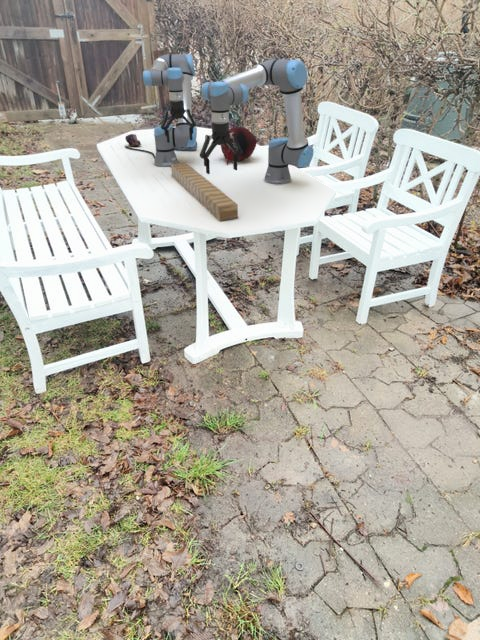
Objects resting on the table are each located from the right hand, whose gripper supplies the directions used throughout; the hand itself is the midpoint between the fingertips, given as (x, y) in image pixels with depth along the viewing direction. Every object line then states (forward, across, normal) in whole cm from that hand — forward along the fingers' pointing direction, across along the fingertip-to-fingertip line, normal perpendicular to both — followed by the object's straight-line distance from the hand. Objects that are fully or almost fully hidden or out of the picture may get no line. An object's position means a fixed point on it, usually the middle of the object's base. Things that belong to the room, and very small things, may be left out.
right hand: (221, 171), depth 208 cm
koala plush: (+21, +22, +132) cm, 135 cm away
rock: (+21, -10, +156) cm, 157 cm away
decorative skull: (+21, +46, +89) cm, 102 cm away
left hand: (0, 0, +66) cm, 66 cm away
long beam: (+21, 0, +33) cm, 39 cm away
